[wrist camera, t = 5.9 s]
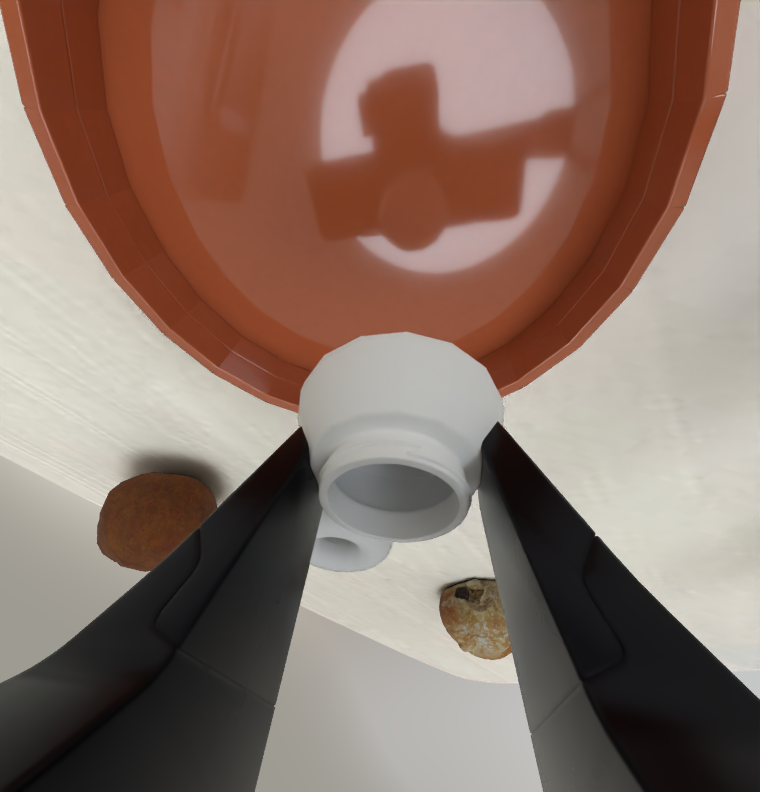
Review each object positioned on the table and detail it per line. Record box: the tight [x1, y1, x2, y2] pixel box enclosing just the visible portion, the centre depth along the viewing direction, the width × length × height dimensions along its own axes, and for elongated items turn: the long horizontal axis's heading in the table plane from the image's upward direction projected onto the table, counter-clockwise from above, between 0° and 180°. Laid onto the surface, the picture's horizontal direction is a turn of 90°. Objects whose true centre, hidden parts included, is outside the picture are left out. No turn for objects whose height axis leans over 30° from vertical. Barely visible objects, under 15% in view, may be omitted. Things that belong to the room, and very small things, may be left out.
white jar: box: [298, 332, 504, 542], centre depth 8 cm, size 5×3×5 cm
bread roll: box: [439, 579, 512, 660], centre depth 40 cm, size 10×10×8 cm
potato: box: [97, 472, 217, 572], centre depth 29 cm, size 8×11×8 cm
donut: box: [310, 510, 393, 572], centre depth 32 cm, size 10×4×10 cm
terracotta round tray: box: [0, 0, 741, 413], centre depth 14 cm, size 22×22×4 cm
